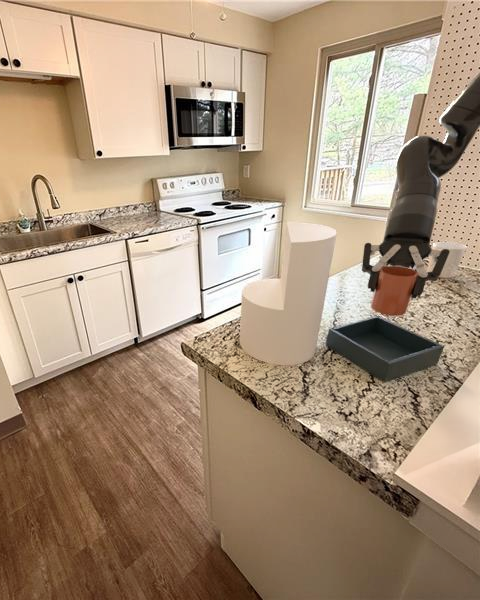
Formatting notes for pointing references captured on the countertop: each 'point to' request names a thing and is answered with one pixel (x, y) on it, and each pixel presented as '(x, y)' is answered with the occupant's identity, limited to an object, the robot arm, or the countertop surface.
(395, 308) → the tumbler
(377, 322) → the tub
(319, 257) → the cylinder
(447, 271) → the white cup
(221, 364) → the countertop surface
